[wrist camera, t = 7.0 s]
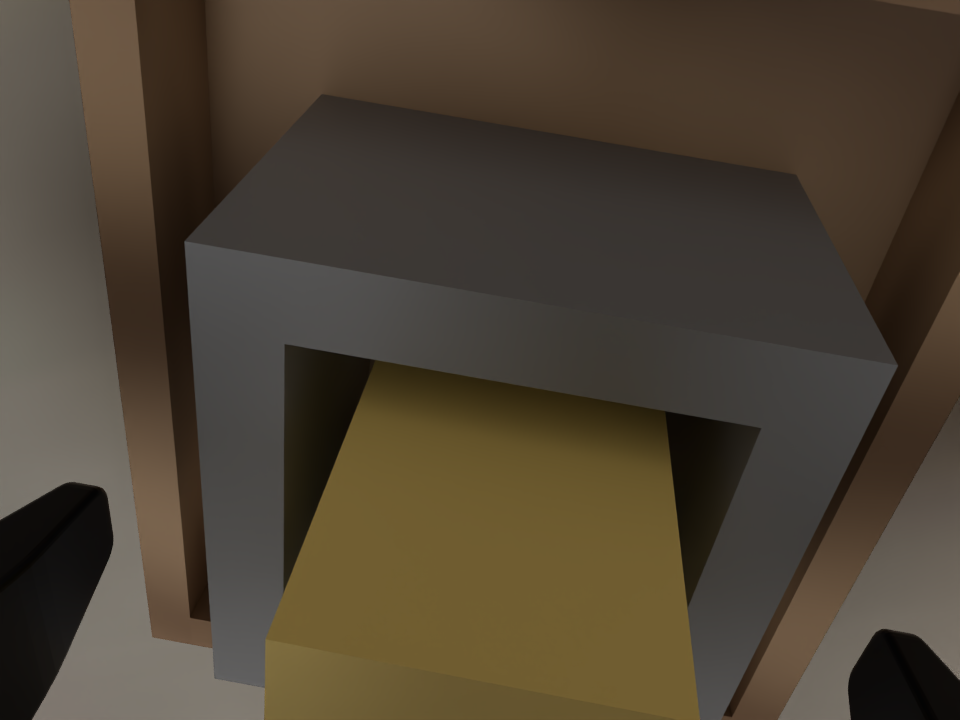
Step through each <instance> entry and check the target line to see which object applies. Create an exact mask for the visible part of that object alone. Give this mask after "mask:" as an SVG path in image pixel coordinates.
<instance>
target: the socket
mask: <svg viewBox="0 0 960 720" xmlns="http://www.w3.org/2000/svg"><path fill="white" fill-rule="evenodd" d="M184 242H185V256H186V271H187V285H188V300H189V314H190V329H191V343H192V358H193V372H194V387H195V401H196V416H197V430H198V444H199V459H200V473H201V488H202V502H203V517H204V531H205V546H206V560H207V575H208V589H209V604H210V618H211V633H212V647H213V662H214V676H215V679H220V680H226V681H231V682H236V683H242V684H247V685H253V686H258V687H264V688H265V639H266V637H267V634H268V631H269V629H270V626H271V624H272V621H273V619H274V616H275V614H276V611H277V609H278V606H279V604H280V601H281V598H282V596H283V593H284V591H285V588H286V586H287V583H288V581H289V578H290V576H291V573H292V571H293V568H294V565H295V563H296V560H297V558H298V555H299V553H300V550H301V548H302V545H303V543H304V540H305V538H306V535H307V532H308V530H309V527H310V525H311V522H312V520H313V517H314V515H315V512H316V510H317V507H318V505H319V502H320V499H321V497H322V494H323V492H324V489H325V487H326V484H327V482H328V479H329V477H330V474H331V472H332V469H333V466H334V464H335V461H336V459H337V456H338V454H339V451H340V449H341V446H342V444H343V441H344V439H345V436H346V433H347V431H348V428H349V426H350V423H351V421H352V418H353V416H354V413H355V411H356V408H357V406H358V403H359V400H360V398H361V395H362V393H363V390H364V388H365V385H366V383H367V380H368V378H369V369H370V359H373V360H378V361H384V362H390V363H395V364H401V365H407V366H412V367H418V368H424V369H429V370H435V371H441V372H446V373H452V374H458V375H464V376H469V377H475V378H481V379H486V380H492V381H498V382H503V383H509V384H515V385H520V386H526V387H532V388H537V389H543V390H549V391H554V392H560V393H566V394H571V395H577V396H583V397H588V398H594V399H600V400H605V401H611V402H617V403H622V404H628V405H634V406H639V407H645V408H651V409H656V410H662V411H665V415H666V423H667V432H668V441H669V450H670V459H671V468H672V477H673V485H674V494H675V503H676V512H677V521H678V530H679V539H680V547H681V556H682V565H683V574H684V583H685V592H686V600H687V609H688V618H689V627H690V636H691V645H692V654H693V662H694V671H695V680H696V689H697V698H698V707H699V715H700V720H721V719H722V717H723V715H724V713H725V711H726V709H727V707H728V705H729V703H730V701H731V699H732V697H733V695H734V693H735V691H736V689H737V687H738V685H739V683H740V681H741V679H742V677H743V675H744V673H745V671H746V669H747V667H748V665H749V663H750V661H751V659H752V657H753V655H754V653H755V651H756V649H757V647H758V645H759V643H760V641H761V639H762V637H763V635H764V633H765V631H766V629H767V627H768V625H769V623H770V621H771V619H772V617H773V615H774V613H775V611H776V609H777V607H778V605H779V603H780V601H781V599H782V597H783V595H784V593H785V591H786V589H787V587H788V585H789V583H790V581H791V579H792V577H793V575H794V573H795V571H796V569H797V567H798V565H799V563H800V561H801V559H802V557H803V555H804V553H805V551H806V549H807V547H808V545H809V543H810V541H811V539H812V537H813V535H814V533H815V531H816V529H817V527H818V525H819V523H820V521H821V519H822V517H823V515H824V513H825V511H826V509H827V507H828V505H829V503H830V501H831V499H832V497H833V495H834V493H835V491H836V489H837V487H838V485H839V483H840V481H841V479H842V477H843V475H844V473H845V471H846V469H847V467H848V465H849V463H850V461H851V459H852V457H853V455H854V453H855V451H856V449H857V447H858V445H859V443H860V441H861V439H862V437H863V435H864V433H865V431H866V429H867V427H868V425H869V423H870V421H871V419H872V417H873V415H874V413H875V411H876V409H877V407H878V405H879V403H880V401H881V399H882V397H883V395H884V393H885V391H886V389H887V387H888V385H889V383H890V381H891V379H892V377H893V375H894V373H895V371H896V369H897V367H898V364H897V363H896V361H895V359H894V357H893V355H892V353H891V351H890V349H889V348H888V346H887V344H886V342H885V340H884V338H883V336H882V334H881V333H880V331H879V329H878V327H877V325H876V323H875V321H874V319H873V318H872V316H871V314H870V312H869V310H868V308H867V306H866V304H865V303H864V301H863V299H862V297H861V295H860V293H859V291H858V290H857V288H856V286H855V284H854V282H853V280H852V278H851V276H850V275H849V273H848V271H847V269H846V267H845V265H844V263H843V261H842V260H841V258H840V256H839V254H838V252H837V250H836V248H835V246H834V245H833V243H832V241H831V239H830V237H829V235H828V233H827V231H826V230H825V228H824V226H823V224H822V222H821V220H820V218H819V217H818V215H817V213H816V211H815V209H814V207H813V205H812V203H811V202H810V200H809V198H808V196H807V194H806V192H805V190H804V188H803V187H802V185H801V183H800V181H799V179H798V177H797V175H795V174H789V173H783V172H777V171H772V170H766V169H760V168H754V167H748V166H742V165H736V164H730V163H724V162H719V161H713V160H707V159H701V158H695V157H689V156H683V155H677V154H672V153H666V152H660V151H654V150H648V149H642V148H636V147H630V146H624V145H619V144H613V143H607V142H601V141H595V140H589V139H583V138H577V137H572V136H566V135H560V134H554V133H548V132H542V131H536V130H530V129H525V128H519V127H513V126H507V125H501V124H495V123H489V122H483V121H477V120H472V119H466V118H460V117H454V116H448V115H442V114H436V113H430V112H425V111H419V110H413V109H407V108H401V107H395V106H389V105H383V104H377V103H372V102H366V101H360V100H354V99H348V98H342V97H336V96H330V95H325V94H321V95H320V96H319V98H318V99H317V100H316V101H315V102H314V103H313V104H312V105H311V106H310V107H309V108H308V109H307V110H306V111H305V113H304V114H303V115H302V116H301V117H300V118H299V119H298V120H297V121H296V122H295V123H294V124H293V125H292V127H291V128H290V129H289V130H288V131H287V132H286V133H285V134H284V135H283V136H282V137H281V138H280V139H279V140H278V142H277V143H276V144H275V145H274V146H273V147H272V148H271V149H270V150H269V151H268V152H267V153H266V154H265V155H264V157H263V158H262V159H261V160H260V161H259V162H258V163H257V164H256V165H255V166H254V167H253V168H252V169H251V170H250V172H249V173H248V174H247V175H246V176H245V177H244V178H243V179H242V180H241V181H240V182H239V183H238V184H237V185H236V187H235V188H234V189H233V190H232V191H231V192H230V193H229V194H228V195H227V196H226V197H225V198H224V199H223V200H222V202H221V203H220V204H219V205H218V206H217V207H216V208H215V209H214V210H213V211H212V212H211V213H210V214H209V215H208V217H207V218H206V219H205V220H204V221H203V222H202V223H201V224H200V225H199V226H198V227H197V228H196V229H195V230H194V232H193V233H192V234H191V235H190V236H189V237H188V238H187V239H186V240H185V241H184Z"/></svg>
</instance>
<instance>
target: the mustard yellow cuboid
mask: <svg viewBox="0 0 960 720" xmlns="http://www.w3.org/2000/svg"><path fill="white" fill-rule="evenodd" d="M264 720H700V715H699V707H698V698H697V689H696V680H695V671H694V662H693V654H692V645H691V636H690V627H689V618H688V609H687V600H686V592H685V583H684V574H683V565H682V556H681V547H680V539H679V530H678V521H677V512H676V503H675V494H674V485H673V477H672V468H671V459H670V450H669V441H668V432H667V423H666V415H665V411H662V410H656V409H651V408H645V407H639V406H634V405H628V404H622V403H617V402H611V401H605V400H600V399H594V398H588V397H583V396H577V395H571V394H566V393H560V392H554V391H549V390H543V389H537V388H532V387H526V386H520V385H515V384H509V383H503V382H498V381H492V380H486V379H481V378H475V377H469V376H464V375H458V374H452V373H446V372H441V371H435V370H429V369H424V368H418V367H412V366H407V365H401V364H395V363H390V362H384V361H378V360H375V362H374V365H373V367H372V370H371V373H370V375H369V378H368V380H367V383H366V385H365V388H364V390H363V393H362V395H361V398H360V400H359V403H358V406H357V408H356V411H355V413H354V416H353V418H352V421H351V423H350V426H349V428H348V431H347V433H346V436H345V439H344V441H343V444H342V446H341V449H340V451H339V454H338V456H337V459H336V461H335V464H334V466H333V469H332V472H331V474H330V477H329V479H328V482H327V484H326V487H325V489H324V492H323V494H322V497H321V499H320V502H319V505H318V507H317V510H316V512H315V515H314V517H313V520H312V522H311V525H310V527H309V530H308V532H307V535H306V538H305V540H304V543H303V545H302V548H301V550H300V553H299V555H298V558H297V560H296V563H295V565H294V568H293V571H292V573H291V576H290V578H289V581H288V583H287V586H286V588H285V591H284V593H283V596H282V598H281V601H280V604H279V606H278V609H277V611H276V614H275V616H274V619H273V621H272V624H271V626H270V629H269V631H268V634H267V637H266V639H265V714H264Z"/></svg>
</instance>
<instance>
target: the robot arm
mask: <svg viewBox="0 0 960 720" xmlns="http://www.w3.org/2000/svg"><path fill="white" fill-rule="evenodd" d="M112 547H113V530H112V524H111V517H110V511H109V504H108V498H107V494H106V492H105V491H104V489H103V488H100V487H98V486H93V485H87V484H82V483H76V482H68V483H65V484H63V485H61V486H59V487H57V488H55V489H53V490H52V491H50V492H48V493H46V494H45V495H43V496H41V497H40V498H38V499H36V500H34V501H33V502H31V503H29V504H27V505H26V506H24V507H22V508H20V509H19V510H17V511H15V512H13V513H12V514H10V515H8V516H6V517H5V518H3V519H1V520H0V720H32V719H33V717H34V715H35V713H36V712H37V710H38V708H39V707H40V705H41V703H42V701H43V700H44V698H45V696H46V694H47V693H48V691H49V689H50V687H51V685H52V683H53V681H54V680H55V678H56V676H57V674H58V672H59V670H60V668H61V666H62V663H63V661H64V659H65V657H66V655H67V653H68V650H69V648H70V646H71V644H72V641H73V639H74V637H75V634H76V632H77V630H78V628H79V625H80V623H81V621H82V619H83V616H84V614H85V612H86V609H87V607H88V605H89V603H90V600H91V598H92V596H93V594H94V591H95V589H96V587H97V585H98V582H99V580H100V578H101V575H102V573H103V571H104V569H105V566H106V564H107V562H108V560H109V557H110V554H111V551H112ZM848 695H849V705H850V715H851V720H960V680H959V679H958V678H957V677H956V676H955V675H954V674H953V672H952V671H951V670H950V669H949V668H948V667H947V666H946V665H945V664H944V663H943V662H942V660H941V659H940V658H939V657H938V656H937V655H936V654H935V653H934V652H933V651H932V650H931V648H930V647H929V646H928V645H927V644H926V643H925V642H924V641H923V640H922V639H921V638H919V637H918V636H916V635H914V634H910V633H905V632H899V631H893V630H888V629H881V630H879V631H878V632H876V633H875V634H874V635H873V637H872V638H871V640H870V642H869V643H868V645H867V647H866V648H865V650H864V651H863V653H862V655H861V656H860V658H859V660H858V661H857V663H856V665H855V666H854V668H853V670H852V672H851V674H850V678H849V683H848Z"/></svg>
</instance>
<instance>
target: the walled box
mask: <svg viewBox="0 0 960 720" xmlns="http://www.w3.org/2000/svg"><path fill="white" fill-rule="evenodd" d="M69 2H70V9H71V17H72V25H73V32H74V40H75V48H76V55H77V63H78V71H79V78H80V86H81V94H82V101H83V109H84V117H85V124H86V132H87V140H88V147H89V155H90V163H91V170H92V178H93V186H94V193H95V201H96V209H97V216H98V224H99V232H100V239H101V247H102V255H103V262H104V270H105V278H106V285H107V293H108V301H109V308H110V316H111V324H112V331H113V339H114V347H115V354H116V362H117V370H118V377H119V385H120V393H121V400H122V408H123V416H124V423H125V431H126V439H127V446H128V454H129V462H130V469H131V477H132V485H133V492H134V500H135V508H136V515H137V523H138V531H139V538H140V546H141V553H142V561H143V569H144V576H145V584H146V592H147V599H148V607H149V615H150V622H151V630H152V637H154V638H160V639H165V640H171V641H176V642H181V643H187V644H192V645H198V646H203V647H209V648H213V647H212V633H211V618H210V604H209V589H208V575H207V560H206V546H205V531H204V517H203V502H202V488H201V473H200V459H199V444H198V430H197V416H196V401H195V387H194V372H193V358H192V343H191V329H190V314H189V300H188V285H187V271H186V256H185V242H184V241H185V240H186V239H187V238H188V237H189V236H190V235H191V234H192V233H193V232H194V230H195V229H196V228H197V227H198V226H199V225H200V224H201V223H202V222H203V221H204V220H205V219H206V218H207V217H208V215H209V214H210V213H211V212H212V211H213V210H214V209H215V208H216V207H217V206H218V205H219V204H220V203H221V202H222V200H223V199H224V198H225V197H226V196H227V195H228V194H229V193H230V192H231V191H232V190H233V189H234V188H235V187H236V185H237V184H238V183H239V182H240V181H241V180H242V179H243V178H244V177H245V176H246V175H247V174H248V173H249V172H250V170H251V169H252V168H253V167H254V166H255V165H256V164H257V163H258V162H259V161H260V160H261V159H262V158H263V157H264V155H265V154H266V153H267V152H268V151H269V150H270V149H271V148H272V147H273V146H274V145H275V144H276V143H277V142H278V140H279V139H280V138H281V137H282V136H283V135H284V134H285V133H286V132H287V131H288V130H289V129H290V128H291V127H292V125H293V124H294V123H295V122H296V121H297V120H298V119H299V118H300V117H301V116H302V115H303V114H304V113H305V111H306V110H307V109H308V108H309V107H310V106H311V105H312V104H313V103H314V102H315V101H316V100H317V99H318V98H319V96H320V95H321V94H325V95H330V96H336V97H342V98H348V99H354V100H360V101H366V102H372V103H377V104H383V105H389V106H395V107H401V108H407V109H413V110H419V111H425V112H430V113H436V114H442V115H448V116H454V117H460V118H466V119H472V120H477V121H483V122H489V123H495V124H501V125H507V126H513V127H519V128H525V129H530V130H536V131H542V132H548V133H554V134H560V135H566V136H572V137H577V138H583V139H589V140H595V141H601V142H607V143H613V144H619V145H624V146H630V147H636V148H642V149H648V150H654V151H660V152H666V153H672V154H677V155H683V156H689V157H695V158H701V159H707V160H713V161H719V162H724V163H730V164H736V165H742V166H748V167H754V168H760V169H766V170H772V171H777V172H783V173H789V174H795V175H797V177H798V179H799V181H800V183H801V185H802V187H803V188H804V190H805V192H806V194H807V196H808V198H809V200H810V202H811V203H812V205H813V207H814V209H815V211H816V213H817V215H818V217H819V218H820V220H821V222H822V224H823V226H824V228H825V230H826V231H827V233H828V235H829V237H830V239H831V241H832V243H833V245H834V246H835V248H836V250H837V252H838V254H839V256H840V258H841V260H842V261H843V263H844V265H845V267H846V269H847V271H848V273H849V275H850V276H851V278H852V280H853V282H854V284H855V286H856V288H857V290H858V291H859V293H860V295H861V297H862V299H863V301H864V303H865V304H866V306H867V308H868V310H869V312H870V314H871V316H872V318H873V319H874V321H875V323H876V325H877V327H878V329H879V331H880V333H881V334H882V336H883V338H884V340H885V342H886V344H887V346H888V348H889V349H890V351H891V353H892V355H893V357H894V359H895V361H896V363H897V364H898V367H897V369H896V371H895V373H894V375H893V377H892V379H891V381H890V383H889V385H888V387H887V389H886V391H885V393H884V395H883V397H882V399H881V401H880V403H879V405H878V407H877V409H876V411H875V413H874V415H873V417H872V419H871V421H870V423H869V425H868V427H867V429H866V431H865V433H864V435H863V437H862V439H861V441H860V443H859V445H858V447H857V449H856V451H855V453H854V455H853V457H852V459H851V461H850V463H849V465H848V467H847V469H846V471H845V473H844V475H843V477H842V479H841V481H840V483H839V485H838V487H837V489H836V491H835V493H834V495H833V497H832V499H831V501H830V503H829V505H828V507H827V509H826V511H825V513H824V515H823V517H822V519H821V521H820V523H819V525H818V527H817V529H816V531H815V533H814V535H813V537H812V539H811V541H810V543H809V545H808V547H807V549H806V551H805V553H804V555H803V557H802V559H801V561H800V563H799V565H798V567H797V569H796V571H795V573H794V575H793V577H792V579H791V581H790V583H789V585H788V587H787V589H786V591H785V593H784V595H783V597H782V599H781V601H780V603H779V605H778V607H777V609H776V611H775V613H774V615H773V617H772V619H771V621H770V623H769V625H768V627H767V629H766V631H765V633H764V635H763V637H762V639H761V641H760V643H759V645H758V647H757V649H756V651H755V653H754V655H753V657H752V659H751V661H750V663H749V665H748V667H747V669H746V671H745V673H744V675H743V677H742V679H741V681H740V683H739V685H738V687H737V689H736V691H735V693H734V695H733V697H732V699H731V701H730V703H729V705H728V707H727V709H726V711H725V713H724V715H723V717H722V719H721V720H777V719H778V718H779V716H780V714H781V712H782V710H783V709H784V707H785V705H786V703H787V702H788V700H789V698H790V696H791V694H792V693H793V691H794V689H795V687H796V686H797V684H798V682H799V680H800V678H801V677H802V675H803V673H804V671H805V670H806V668H807V666H808V664H809V663H810V661H811V659H812V657H813V655H814V654H815V652H816V650H817V648H818V647H819V645H820V643H821V641H822V639H823V638H824V636H825V634H826V632H827V631H828V629H829V627H830V625H831V623H832V622H833V620H834V618H835V616H836V615H837V613H838V611H839V609H840V607H841V606H842V604H843V602H844V600H845V599H846V597H847V595H848V593H849V592H850V590H851V588H852V586H853V584H854V583H855V581H856V579H857V577H858V576H859V574H860V572H861V570H862V568H863V567H864V565H865V563H866V561H867V560H868V558H869V556H870V554H871V552H872V551H873V549H874V547H875V545H876V544H877V542H878V540H879V538H880V536H881V535H882V533H883V531H884V529H885V528H886V526H887V524H888V522H889V520H890V519H891V517H892V515H893V513H894V512H895V510H896V508H897V506H898V505H899V503H900V501H901V499H902V497H903V496H904V494H905V492H906V490H907V489H908V487H909V485H910V483H911V481H912V480H913V478H914V476H915V474H916V473H917V471H918V469H919V467H920V465H921V464H922V462H923V460H924V458H925V457H926V455H927V453H928V451H929V449H930V448H931V446H932V444H933V442H934V441H935V439H936V437H937V435H938V433H939V432H940V430H941V428H942V426H943V425H944V423H945V421H946V419H947V418H948V416H949V414H950V412H951V410H952V409H953V407H954V405H955V403H956V402H957V400H958V398H959V396H960V0H69ZM374 362H375V360H373V359H370V369H369V375H370V373H371V370H372V367H373V365H374Z"/></svg>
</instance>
